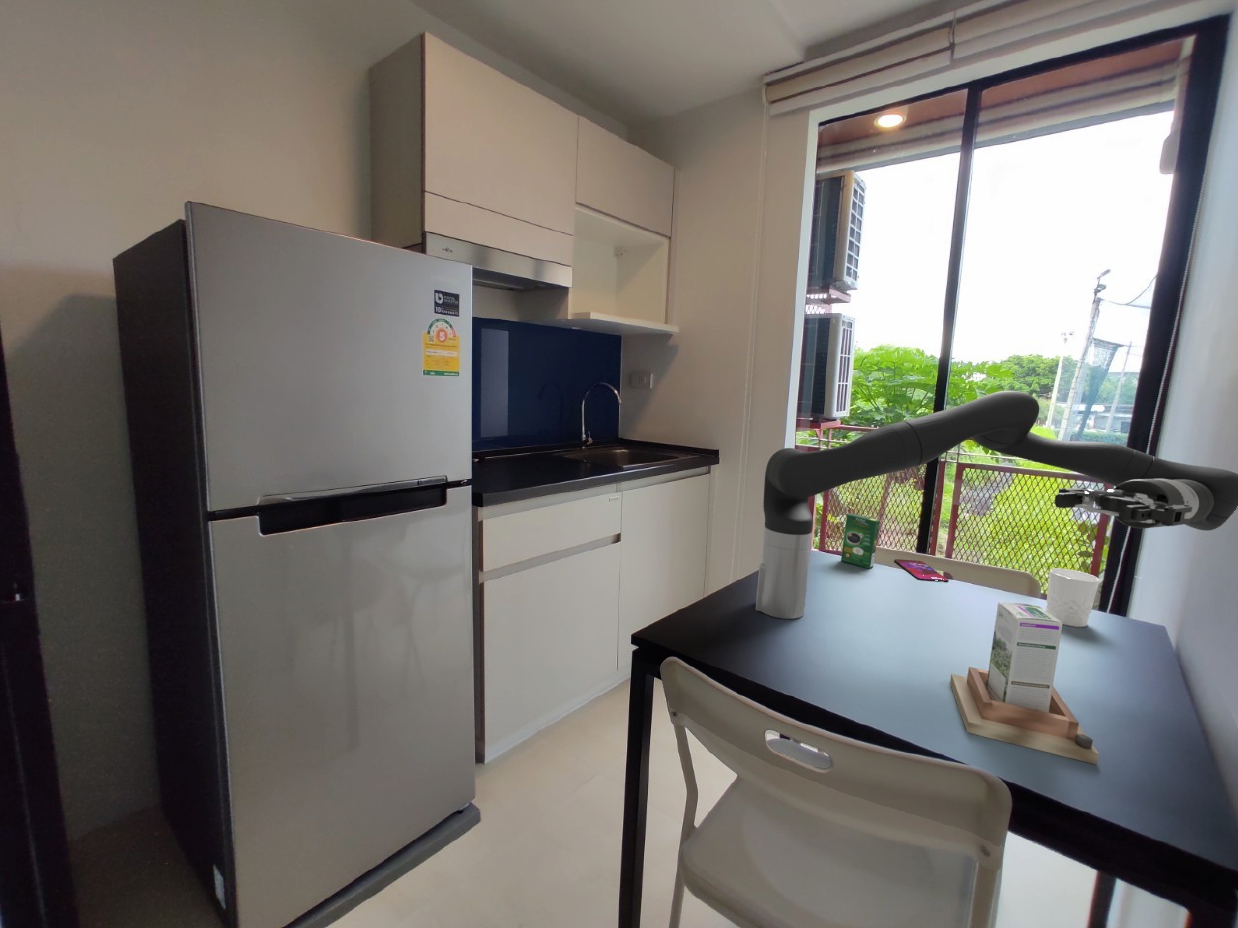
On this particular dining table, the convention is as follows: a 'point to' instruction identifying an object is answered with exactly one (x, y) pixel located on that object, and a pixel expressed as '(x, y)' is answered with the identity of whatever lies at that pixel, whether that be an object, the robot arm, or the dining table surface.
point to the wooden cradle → (1020, 720)
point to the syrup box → (1023, 656)
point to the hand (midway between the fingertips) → (1091, 507)
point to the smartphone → (919, 570)
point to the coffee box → (860, 540)
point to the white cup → (1071, 596)
